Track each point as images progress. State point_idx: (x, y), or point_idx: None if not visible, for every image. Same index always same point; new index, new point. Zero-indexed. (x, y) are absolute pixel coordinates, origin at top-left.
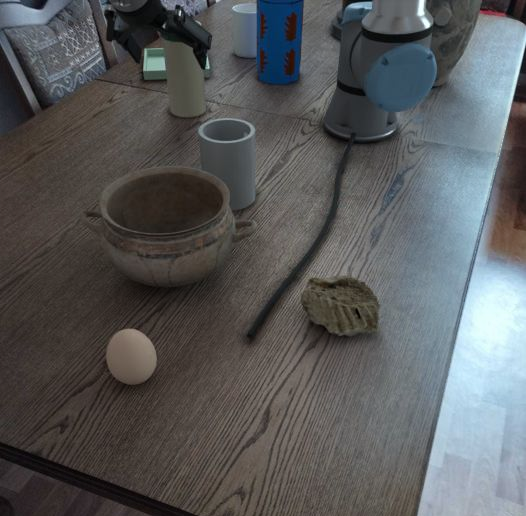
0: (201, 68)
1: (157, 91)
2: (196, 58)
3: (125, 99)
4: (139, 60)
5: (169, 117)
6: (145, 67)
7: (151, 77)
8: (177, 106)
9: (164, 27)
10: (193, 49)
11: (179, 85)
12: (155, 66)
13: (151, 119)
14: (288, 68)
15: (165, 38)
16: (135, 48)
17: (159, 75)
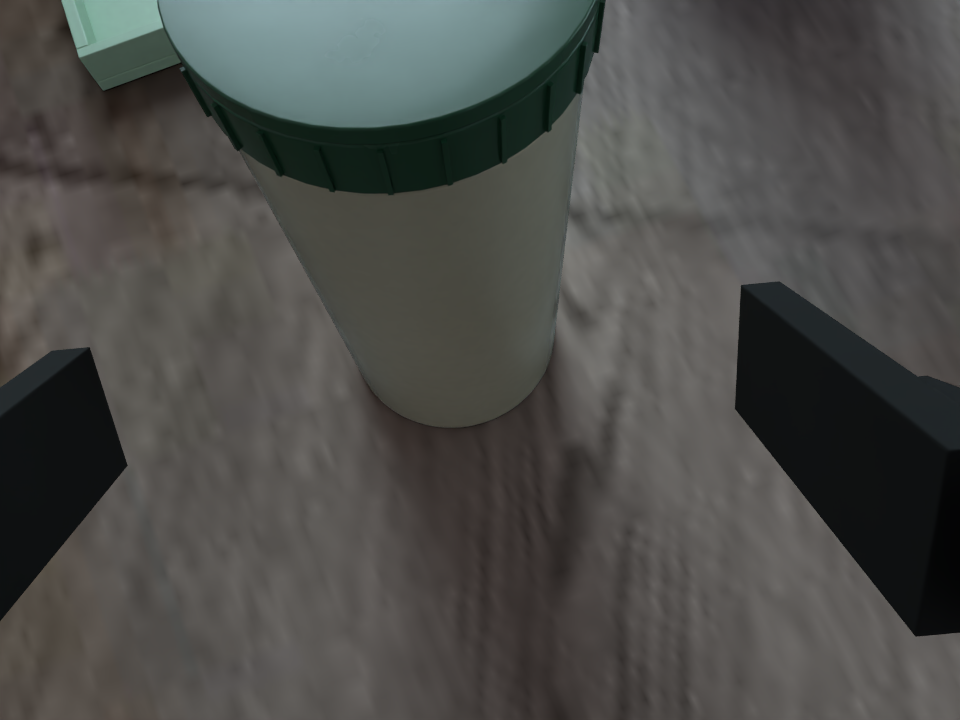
0: (745, 416)
1: (210, 183)
2: (832, 523)
3: (69, 319)
4: (112, 461)
5: (388, 451)
6: (78, 19)
7: (133, 70)
8: (428, 408)
9: (232, 61)
10: (929, 610)
11: (444, 361)
12: None
13: (296, 510)
14: None
15: (283, 173)
16: (26, 484)
17: (170, 49)
